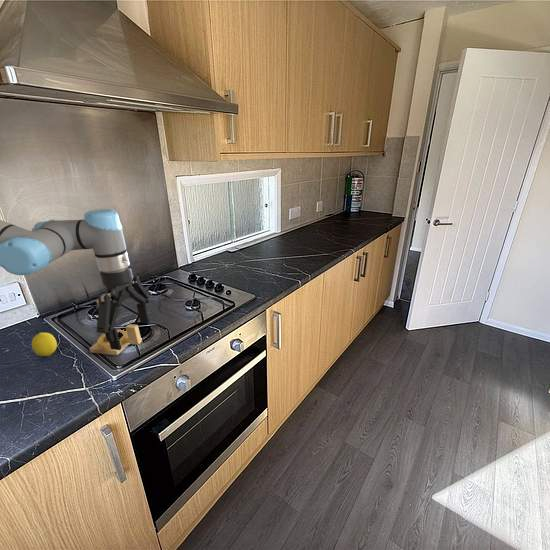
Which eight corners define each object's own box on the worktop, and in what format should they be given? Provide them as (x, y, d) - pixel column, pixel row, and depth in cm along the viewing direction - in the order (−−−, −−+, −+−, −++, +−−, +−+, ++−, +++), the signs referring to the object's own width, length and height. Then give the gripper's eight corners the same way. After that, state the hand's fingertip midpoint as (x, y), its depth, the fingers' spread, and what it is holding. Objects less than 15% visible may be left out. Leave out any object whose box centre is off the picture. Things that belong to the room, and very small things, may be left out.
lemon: (32, 361, 84) (22, 338, 81) (48, 349, 89) (39, 327, 86) (49, 362, 83) (40, 339, 80) (65, 350, 88) (56, 327, 85)
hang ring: (92, 348, 86) (86, 330, 84) (111, 331, 94) (106, 315, 92) (131, 352, 84) (126, 334, 82) (148, 335, 92) (144, 318, 89)
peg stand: (90, 352, 87) (74, 306, 81) (111, 335, 95) (98, 292, 89) (117, 355, 85) (103, 309, 79) (136, 337, 93) (124, 294, 87)
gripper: (92, 289, 67) (114, 363, 75) (153, 254, 89) (165, 314, 98) (64, 287, 68) (89, 360, 76) (131, 253, 91) (144, 312, 99)
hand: (131, 334), depth 87 cm, fingers open, 13 cm apart
